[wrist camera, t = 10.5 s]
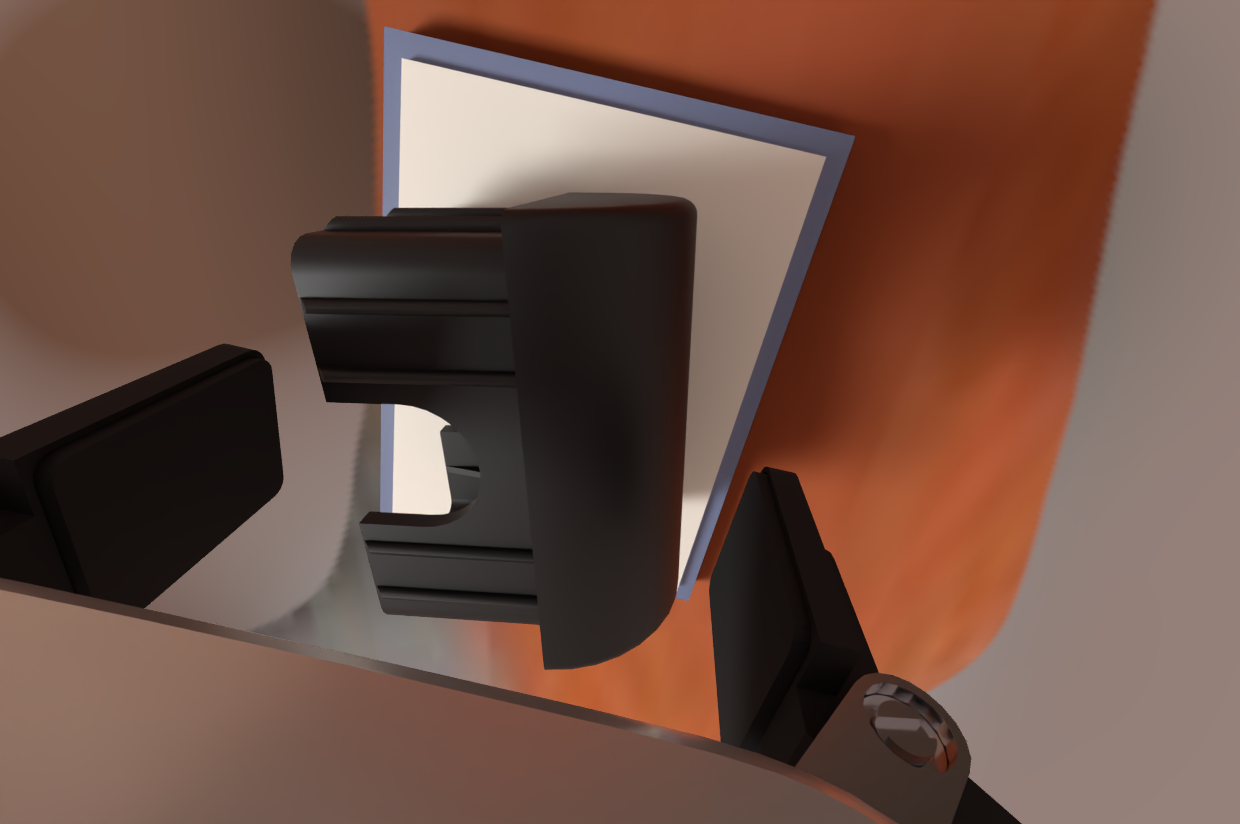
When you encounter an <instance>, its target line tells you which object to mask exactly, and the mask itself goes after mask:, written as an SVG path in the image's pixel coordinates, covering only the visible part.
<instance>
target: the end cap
mask: <svg viewBox="0 0 1240 824" xmlns="http://www.w3.org/2000/svg"><path fill="white" fill-rule="evenodd" d="M696 233H697V209H696V207H695V205H694V204H693V203H692V202H691V201H689V200H687V199H685V198H683V197H677V196H670V195H658V194H638V193H582V192H569V193H565V194H561V195H557V196H553V197H549V198H545V199H541V200H537V201H534V202H530V203H526V204H522V205H518V206H514V207H510V208H393V209H392V210H391V211H390V212H389V213H388V214H387V216H365V217H364V216H336V217H335V218H333V219H332V220H331V221H330V222H329V223H328V225H327V226H326V228H325V229H324V230H322V231H317V232H311V233H306V234H304V235H302V236H300V237H299V238H298V240H297V241H296V242H295V244H294V247H293V250H292V254H291V267H292V274H293V279H294V283H295V286H296V290H297V294H298V298H299V301H300V305H301V309H302V313H303V316H304V320H305V324H306V327H307V331H308V335H309V339H310V342H311V346H312V350H313V354H314V357H315V361H316V365H317V369H318V372H319V376H320V380H321V384H322V387H323V391H324V395H325V399H326V402H336V403H367V404H397V405H406V406H413V407H416V408H419V409H423V410H426V411H428V412H430V413H432V414H434V415H436V416H438V417H440V418H442V419H443V420H445V421H446V422H447V423H449V424H450V425H445V426H444V427H443V429H442V430H441V431H440V436H441V442H442V448H443V454H444V459H445V465H446V471H447V477H448V483H449V489H450V494H451V508H450V511H449V513H447V514H436V515H428V514H409V513H389V512H369V513H368V514H367V515H366V516H365V517H364V518H363V519H362V521H361V522H360V523H359V526H360V529H361V533H362V537H363V541H364V544H365V548H366V552H367V556H368V559H369V563H370V567H371V570H372V574H373V578H374V582H375V585H376V589H377V593H378V597H379V600H380V604H381V607H382V610H383V612H385V613H386V614H391V615H405V616H420V617H435V618H449V619H464V620H478V621H493V622H507V623H522V624H536V625H540V631H541V642H542V652H543V662H544V669H545V670H551V669H575V668H581V667H586V666H592V665H597V664H599V663H602V662H605V661H608V660H610V659H613V658H616V657H619V656H621V655H623V654H624V653H626V652H628V651H629V650H631V649H633V648H635V647H636V646H638V645H640V644H641V643H642V642H643V641H644V640H646V639H647V638H648V637H649V636H650V635H651V634H652V633H654V632H655V631H656V630H657V629H658V627H659V626H660V625H661V623H662V622H663V621H664V619H665V618H666V617H667V615H668V614H669V612H670V610H671V607H672V605H673V602H674V600H675V598H676V594H677V586H678V578H679V558H680V539H681V520H682V501H683V482H684V463H685V444H686V424H687V405H688V386H689V367H690V348H691V329H692V309H693V290H694V271H695V252H696Z"/></svg>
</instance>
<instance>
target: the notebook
mask: <svg viewBox="0 0 1240 824" xmlns="http://www.w3.org/2000/svg"><path fill="white" fill-rule="evenodd" d="M854 139H855V136H853V135H848V134H844V133H840V132H835V131H831V130H827V129H823V128H818V127H814V126H810V125H805V124H801V123H797V122H792V121H788V120H784V119H780V118H775V117H771V116H767V115H762V114H758V113H754V112H750V111H745V110H741V109H737V108H732V107H728V106H724V105H719V104H715V103H711V102H707V101H702V100H698V99H694V98H689V97H685V96H681V95H677V94H672V93H668V92H664V91H659V90H655V89H651V88H646V87H642V86H638V85H634V84H629V83H625V82H621V81H616V80H612V79H608V78H604V77H599V76H595V75H591V74H586V73H582V72H578V71H573V70H569V69H565V68H561V67H556V66H552V65H548V64H543V63H539V62H535V61H531V60H526V59H522V58H518V57H513V56H509V55H505V54H501V53H496V52H492V51H488V50H483V49H479V48H475V47H470V46H466V45H462V44H458V43H453V42H449V41H445V40H440V39H436V38H432V37H428V36H423V35H419V34H415V33H410V32H406V31H402V30H397V29H393V28H389V27H385V26H384V117H383V216H387V214H388V213H389V212H390V211H391V210H392V209H393V208H510V207H514V206H518V205H522V204H526V203H530V202H534V201H537V200H541V199H545V198H549V197H553V196H557V195H561V194H565V193H569V192H582V193H638V194H658V195H670V196H677V197H683V198H685V199H687V200H689V201H691V202H692V203H693V204H694V205H695V207H696V209H697V233H696V252H695V271H694V290H693V309H692V329H691V348H690V367H689V386H688V405H687V424H686V444H685V463H684V482H683V501H682V520H681V539H680V558H679V578H678V586H677V594H676V598H678V599H682V600H687V601H688V600H689V597H690V595H691V592H692V589H693V586H694V583H695V581H696V578H697V575H698V572H699V570H700V567H701V564H702V561H703V558H704V556H705V553H706V550H707V547H708V545H709V542H710V539H711V536H712V533H713V531H714V528H715V525H716V522H717V520H718V517H719V514H720V511H721V508H722V506H723V503H724V500H725V497H726V495H727V492H728V489H729V486H730V483H731V481H732V478H733V475H734V472H735V470H736V467H737V464H738V461H739V459H740V456H741V453H742V450H743V447H744V445H745V442H746V439H747V436H748V434H749V431H750V428H751V425H752V422H753V420H754V417H755V414H756V411H757V409H758V406H759V403H760V400H761V397H762V395H763V392H764V389H765V386H766V384H767V381H768V378H769V375H770V372H771V370H772V367H773V364H774V361H775V359H776V356H777V353H778V350H779V347H780V345H781V342H782V339H783V336H784V334H785V331H786V328H787V325H788V322H789V320H790V317H791V314H792V311H793V309H794V306H795V303H796V300H797V297H798V295H799V292H800V289H801V286H802V284H803V281H804V278H805V275H806V272H807V270H808V267H809V264H810V261H811V259H812V256H813V253H814V250H815V247H816V245H817V242H818V239H819V236H820V234H821V231H822V228H823V225H824V222H825V220H826V217H827V214H828V211H829V209H830V206H831V203H832V200H833V197H834V195H835V192H836V189H837V186H838V184H839V181H840V178H841V175H842V172H843V170H844V167H845V164H846V161H847V159H848V156H849V153H850V150H851V147H852V145H853V142H854ZM445 425H450V424H449V423H447V422H446V421H445V420H443V419H442V418H440V417H438V416H436V415H434V414H432V413H430V412H428V411H426V410H423V409H419V408H416V407H413V406H406V405H397V404H381V501H380V512H389V513H409V514H428V515H436V514H447V513H449V511H450V508H451V494H450V489H449V483H448V477H447V471H446V465H445V459H444V454H443V448H442V442H441V436H440V431H441V430H442V429H443V427H444V426H445Z"/></svg>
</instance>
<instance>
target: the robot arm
mask: <svg viewBox="0 0 1240 824" xmlns="http://www.w3.org/2000/svg"><path fill="white" fill-rule="evenodd" d="M282 484H283V467H282V458H281V449H280V439H279V430H278V422H277V412H276V403H275V394H274V384H273V375H272V369H271V365H270V364H269V362H267V361H266V360H265V359H264V357H263V355H262V354H261V353H260V352H258V351H256V350H251V349H247V348H243V347H238V346H234V345H230V344H221V345H218V346H215V347H213V348H211V349H208V350H206V351H204V352H201V353H199V354H196V355H194V356H192V357H190V358H187V359H185V360H182V361H180V362H177V363H175V364H173V365H171V366H168V367H166V368H163V369H161V370H159V371H156V372H154V373H151V374H149V375H147V376H144V377H142V378H140V379H137V380H135V381H133V382H130V383H128V384H125V385H123V386H121V387H118V388H116V389H114V390H111V391H109V392H107V393H104V394H102V395H99V396H97V397H95V398H92V399H90V400H88V401H85V402H83V403H81V404H78V405H76V406H73V407H71V408H69V409H66V410H64V411H62V412H59V413H57V414H55V415H52V416H50V417H47V418H45V419H43V420H40V421H38V422H36V423H33V424H31V425H29V426H26V427H24V428H22V429H19V430H17V431H14V432H12V433H10V434H7V435H5V436H3V437H0V824H1021V823H1020V822H1019V821H1018V820H1017V819H1016V818H1015V817H1013V816H1012V815H1011V814H1010V813H1009V812H1008V811H1007V810H1005V809H1004V808H1003V807H1002V806H1001V805H1000V804H999V803H997V802H996V801H995V800H994V799H993V798H992V797H991V796H989V795H988V794H987V793H985V791H984V790H982V789H981V788H980V787H979V786H978V785H977V784H976V783H974V782H973V781H972V780H971V779H970V778H969V777H968V776H969V773H970V766H971V756H970V752H969V749H968V746H967V742H966V740H965V738H964V736H963V734H962V732H961V731H960V729H959V727H958V725H957V724H956V722H955V721H954V720H953V719H952V718H951V716H950V715H949V714H948V713H947V712H946V710H945V709H944V708H943V707H942V706H941V705H940V704H939V703H938V702H937V701H935V700H934V699H933V698H932V697H931V696H930V695H929V694H927V693H926V692H925V691H923V690H922V689H920V688H918V687H917V686H915V685H914V684H912V683H910V682H909V681H906V680H904V679H901V678H899V677H896V676H894V675H890V674H883V673H879V672H878V669H877V667H876V664H875V662H874V659H873V657H872V654H871V652H870V649H869V646H868V644H867V641H866V639H865V636H864V634H863V631H862V629H861V626H860V624H859V621H858V618H857V616H856V613H855V611H854V608H853V606H852V603H851V601H850V598H849V595H848V593H847V590H846V588H845V585H844V583H843V580H842V578H841V575H840V572H839V570H838V567H837V565H836V562H835V560H834V558H833V556H832V554H831V553H830V552H829V551H827V550H825V548H824V545H823V543H822V540H821V537H820V535H819V532H818V530H817V527H816V524H815V522H814V519H813V516H812V514H811V511H810V508H809V506H808V503H807V500H806V498H805V495H804V493H803V490H802V487H801V485H800V482H799V479H798V477H797V475H796V474H795V473H792V472H788V471H783V470H779V469H774V468H770V467H765V468H763V470H762V471H761V473H758V472H752V474H751V475H750V477H749V480H748V482H747V485H746V487H745V490H744V493H743V495H742V498H741V500H740V503H739V506H738V508H737V511H736V513H735V516H734V519H733V521H732V524H731V526H730V529H729V531H728V534H727V537H726V539H725V542H724V544H723V547H722V550H721V552H720V555H719V557H718V560H717V563H716V565H715V568H714V570H713V573H712V576H711V580H710V588H709V596H710V608H711V621H712V634H713V647H714V660H715V672H716V685H717V698H718V711H719V724H720V736H721V742H719V741H715V740H712V739H709V738H705V737H702V736H698V735H694V734H690V733H686V732H682V731H678V730H673V729H669V728H665V727H661V726H657V725H653V724H649V723H645V722H641V721H637V720H633V719H629V718H625V717H621V716H617V715H613V714H609V713H605V712H601V711H597V710H593V709H588V708H584V707H580V706H575V705H571V704H567V703H562V702H558V701H553V700H549V699H545V698H540V697H536V696H532V695H527V694H523V693H519V692H514V691H510V690H506V689H501V688H497V687H492V686H488V685H484V684H479V683H475V682H471V681H466V680H462V679H458V678H453V677H449V676H444V675H440V674H436V673H431V672H427V671H423V670H418V669H414V668H409V667H405V666H400V665H396V664H391V663H387V662H383V661H378V660H374V659H369V658H365V657H360V656H356V655H351V654H347V653H342V652H338V651H333V650H329V649H325V648H320V647H316V646H311V645H307V644H302V643H298V642H293V641H289V640H284V639H280V638H275V637H271V636H266V635H262V634H257V633H253V632H248V631H244V630H239V629H234V628H230V627H225V626H221V625H217V624H212V623H208V622H202V621H199V620H194V619H189V618H184V617H180V616H175V615H171V614H166V613H162V612H157V611H153V610H148V609H144V608H145V607H146V606H148V605H149V604H150V603H151V602H152V601H154V600H155V599H156V598H157V597H158V596H159V595H160V594H162V593H163V592H164V591H165V590H166V589H167V588H169V587H170V586H171V585H172V584H173V583H174V582H176V581H177V580H178V579H179V578H180V577H181V576H182V575H184V574H185V573H186V572H187V571H188V570H190V569H191V568H192V567H193V566H194V565H195V564H196V563H198V562H199V561H200V560H201V559H202V558H203V557H205V556H206V555H207V554H208V553H209V552H210V551H212V550H213V549H214V548H215V547H216V546H217V545H218V544H220V543H221V542H222V541H223V540H224V539H226V538H227V537H228V536H229V535H230V534H231V533H233V532H234V531H235V530H236V529H237V528H238V527H239V526H241V525H242V524H243V523H244V522H245V521H246V520H248V519H249V518H250V517H251V516H252V515H253V514H255V513H256V512H257V511H258V510H259V509H260V508H262V507H263V506H264V505H265V504H266V503H267V502H269V501H270V500H271V499H272V498H273V497H274V496H275V495H276V494H277V493H278V492H279V490H280V489H281V486H282Z"/></svg>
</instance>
